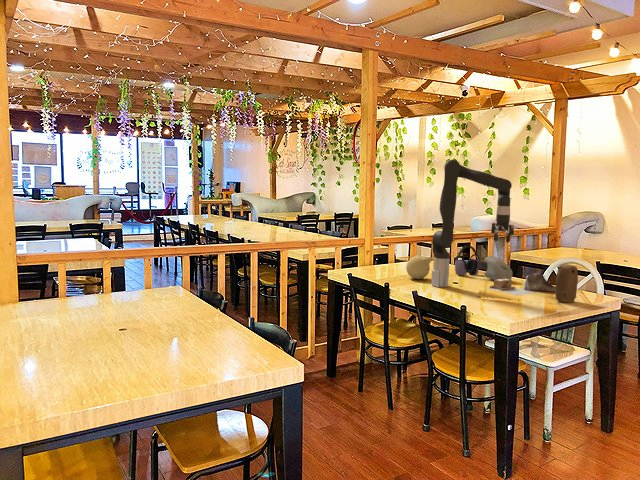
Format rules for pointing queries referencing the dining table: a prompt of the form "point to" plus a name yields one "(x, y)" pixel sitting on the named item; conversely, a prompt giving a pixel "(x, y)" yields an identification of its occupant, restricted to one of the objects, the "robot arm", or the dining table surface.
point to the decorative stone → (497, 269)
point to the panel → (512, 290)
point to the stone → (566, 283)
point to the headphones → (467, 264)
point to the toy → (418, 267)
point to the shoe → (538, 283)
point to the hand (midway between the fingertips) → (501, 241)
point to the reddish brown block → (502, 283)
